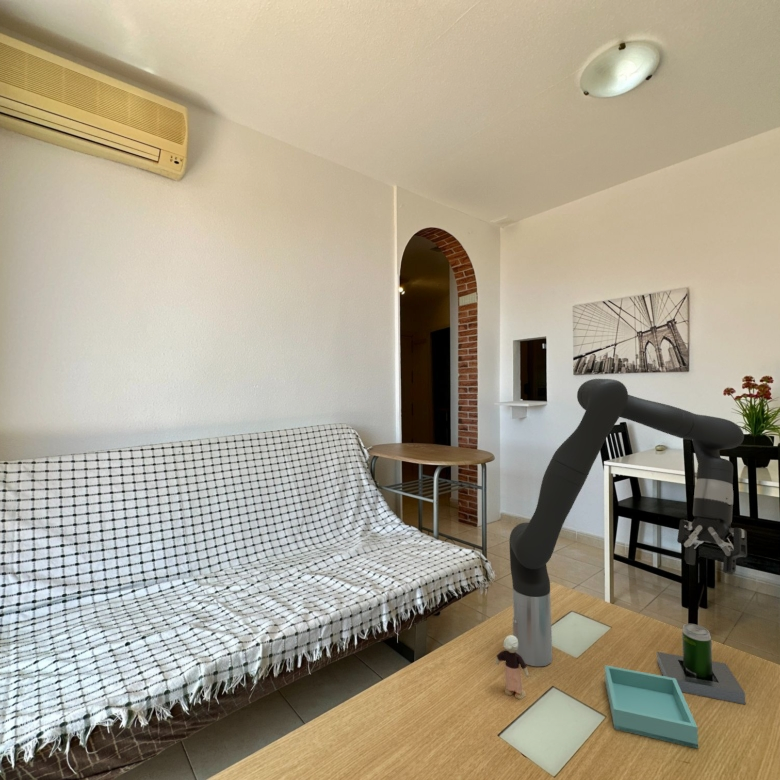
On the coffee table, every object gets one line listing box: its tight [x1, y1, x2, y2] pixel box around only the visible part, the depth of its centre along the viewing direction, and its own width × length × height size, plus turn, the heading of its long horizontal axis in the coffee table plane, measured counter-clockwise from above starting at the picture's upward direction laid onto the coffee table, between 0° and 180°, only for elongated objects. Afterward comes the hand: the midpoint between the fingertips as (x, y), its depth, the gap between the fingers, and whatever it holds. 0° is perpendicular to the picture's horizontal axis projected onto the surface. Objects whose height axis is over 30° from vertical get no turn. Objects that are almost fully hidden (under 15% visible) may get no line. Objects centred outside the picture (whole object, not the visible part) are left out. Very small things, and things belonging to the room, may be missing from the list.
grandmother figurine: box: [494, 634, 530, 700], centre depth 93 cm, size 8×4×13 cm, turn 65°
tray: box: [604, 664, 699, 749], centre depth 86 cm, size 14×14×4 cm
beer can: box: [681, 623, 713, 681], centre depth 95 cm, size 5×5×12 cm
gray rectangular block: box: [656, 651, 746, 705], centre depth 95 cm, size 14×10×2 cm
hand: (708, 569), depth 97 cm, fingers open, 8 cm apart
